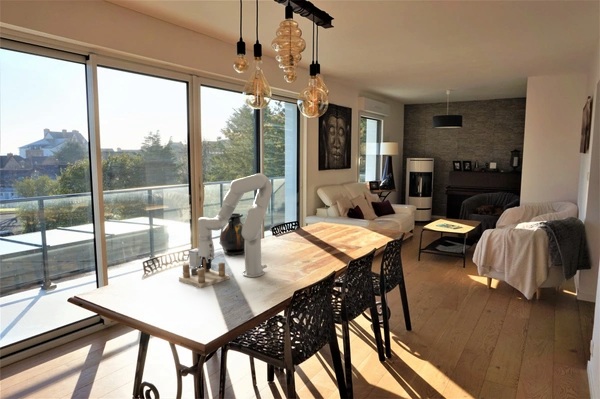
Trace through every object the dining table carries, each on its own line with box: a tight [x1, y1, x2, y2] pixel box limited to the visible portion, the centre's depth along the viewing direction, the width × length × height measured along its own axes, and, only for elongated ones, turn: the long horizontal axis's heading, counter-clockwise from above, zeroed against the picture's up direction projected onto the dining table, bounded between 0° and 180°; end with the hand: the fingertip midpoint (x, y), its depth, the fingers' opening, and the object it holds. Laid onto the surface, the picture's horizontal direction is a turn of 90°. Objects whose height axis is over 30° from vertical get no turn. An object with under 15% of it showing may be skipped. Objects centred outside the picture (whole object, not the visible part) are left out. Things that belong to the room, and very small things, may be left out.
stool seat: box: [178, 262, 231, 289], centre depth 219 cm, size 20×20×9 cm
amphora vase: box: [219, 212, 245, 256], centre depth 277 cm, size 22×22×28 cm
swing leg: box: [190, 258, 211, 275], centre depth 225 cm, size 12×4×7 cm, turn 142°
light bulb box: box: [188, 247, 202, 268], centre depth 248 cm, size 11×7×11 cm, turn 149°
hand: (206, 267), depth 229 cm, fingers closed on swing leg, 3 cm apart
